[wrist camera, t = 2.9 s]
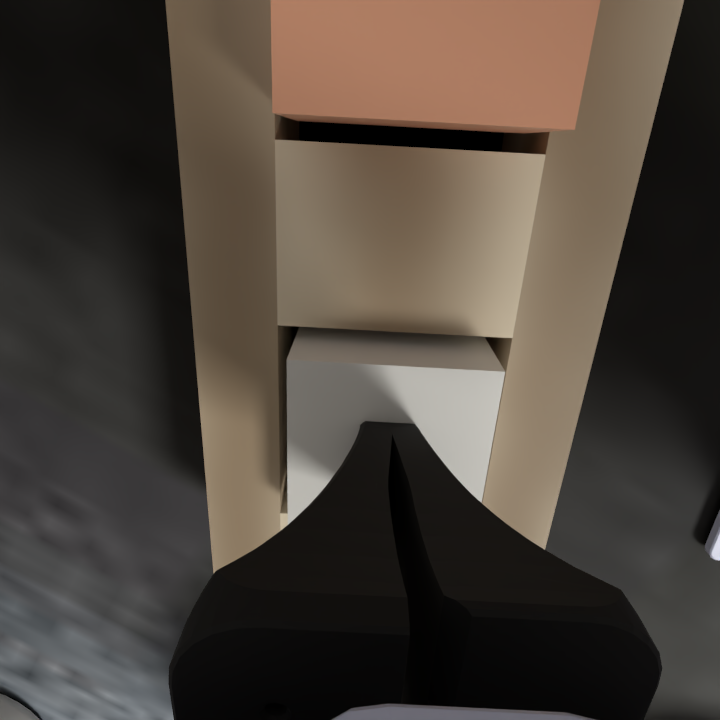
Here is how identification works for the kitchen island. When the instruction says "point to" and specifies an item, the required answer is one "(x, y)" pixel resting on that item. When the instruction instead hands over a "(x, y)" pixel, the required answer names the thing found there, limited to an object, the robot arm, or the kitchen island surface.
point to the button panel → (398, 252)
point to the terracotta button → (432, 62)
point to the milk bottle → (14, 710)
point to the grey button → (387, 400)
